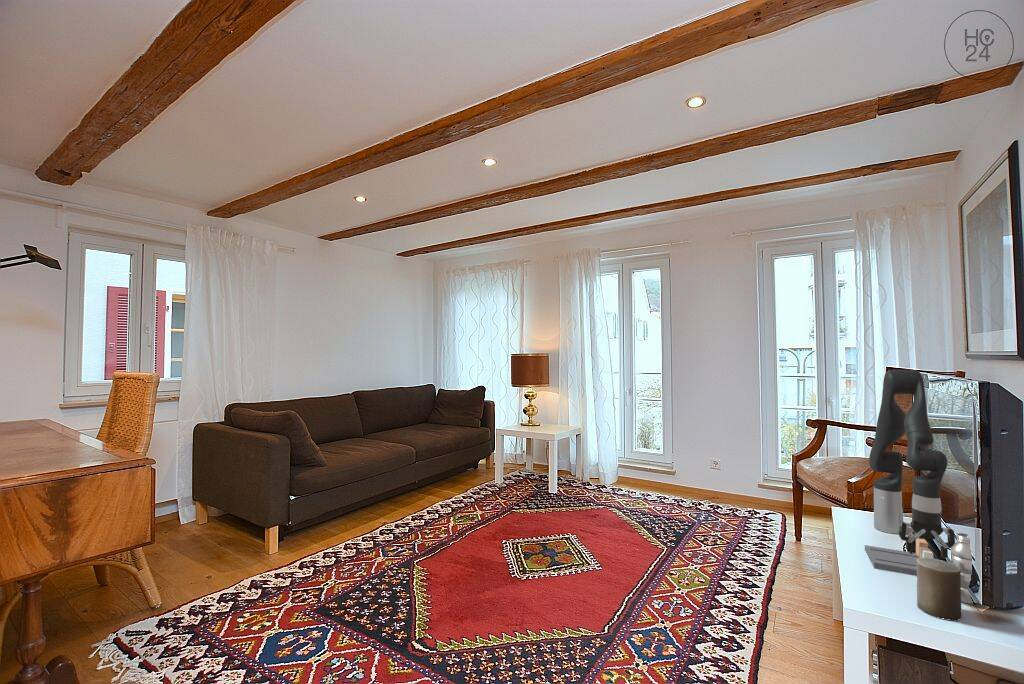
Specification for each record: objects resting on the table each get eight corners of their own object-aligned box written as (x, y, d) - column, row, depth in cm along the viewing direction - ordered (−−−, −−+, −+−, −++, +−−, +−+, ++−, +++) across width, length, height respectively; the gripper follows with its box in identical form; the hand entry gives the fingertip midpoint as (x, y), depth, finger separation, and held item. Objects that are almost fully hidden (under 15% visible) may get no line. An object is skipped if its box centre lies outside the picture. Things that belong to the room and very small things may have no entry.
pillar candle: (965, 625, 130) (965, 571, 130) (919, 613, 136) (919, 561, 136) (956, 609, 138) (956, 558, 138) (913, 598, 144) (913, 550, 144)
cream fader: (923, 568, 158) (923, 551, 158) (920, 563, 162) (920, 547, 162) (933, 569, 157) (933, 553, 157) (929, 564, 161) (929, 548, 161)
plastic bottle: (987, 608, 138) (986, 540, 139) (960, 605, 140) (960, 539, 140) (970, 596, 145) (969, 532, 145) (945, 594, 146) (944, 530, 146)
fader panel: (874, 568, 163) (874, 562, 163) (864, 550, 177) (864, 544, 177) (949, 581, 154) (949, 575, 154) (933, 561, 168) (933, 555, 168)
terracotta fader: (919, 558, 166) (919, 542, 166) (915, 553, 169) (915, 538, 169) (928, 559, 165) (928, 543, 165) (924, 554, 168) (924, 539, 168)
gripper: (949, 508, 160) (949, 555, 160) (897, 501, 166) (897, 547, 166) (958, 515, 153) (958, 564, 153) (903, 508, 159) (903, 555, 159)
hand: (926, 555), depth 160 cm, fingers open, 8 cm apart
